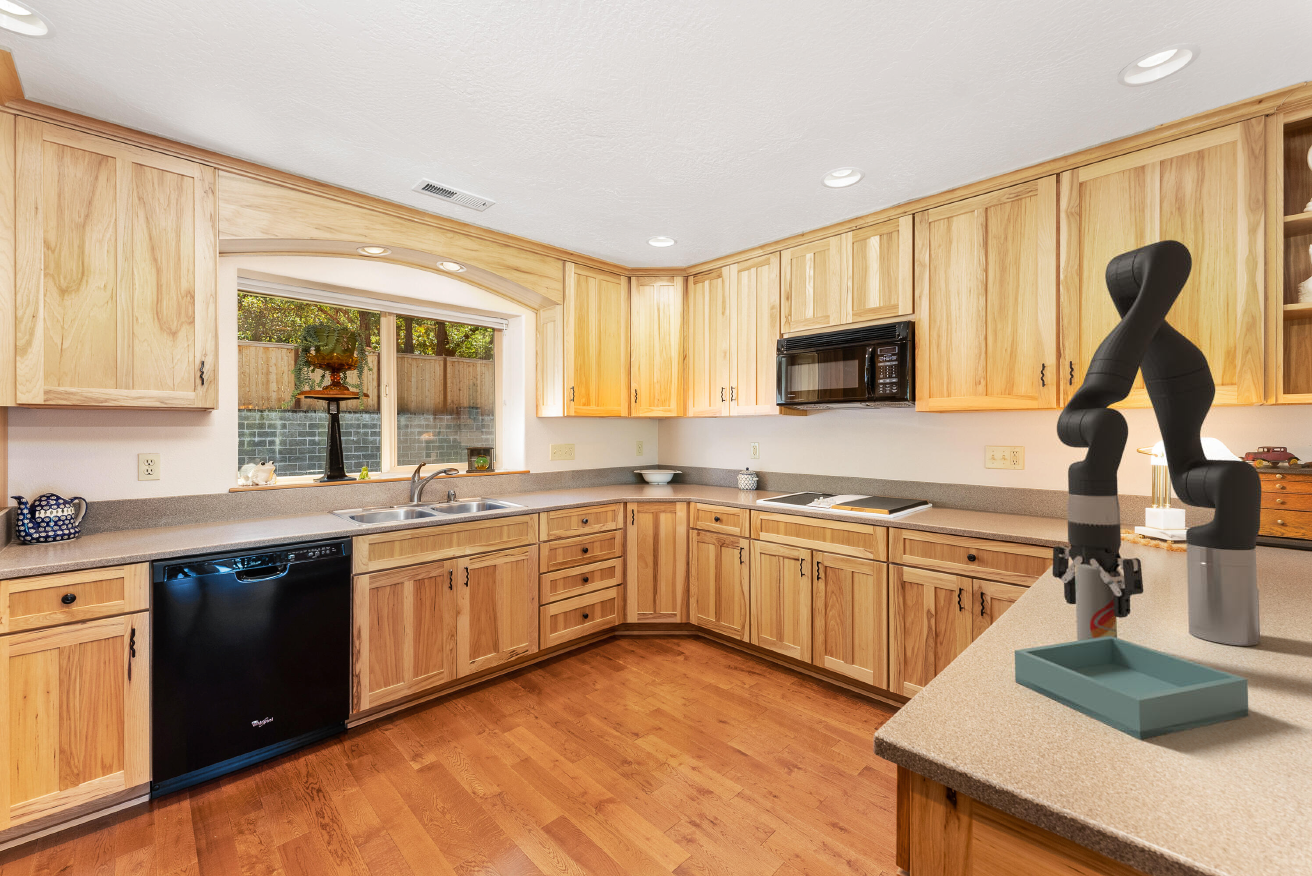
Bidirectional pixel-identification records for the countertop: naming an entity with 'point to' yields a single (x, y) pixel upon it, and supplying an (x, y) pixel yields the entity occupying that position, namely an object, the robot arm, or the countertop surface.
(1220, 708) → the tray
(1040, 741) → the countertop surface
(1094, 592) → the lotion bottle
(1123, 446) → the robot arm
